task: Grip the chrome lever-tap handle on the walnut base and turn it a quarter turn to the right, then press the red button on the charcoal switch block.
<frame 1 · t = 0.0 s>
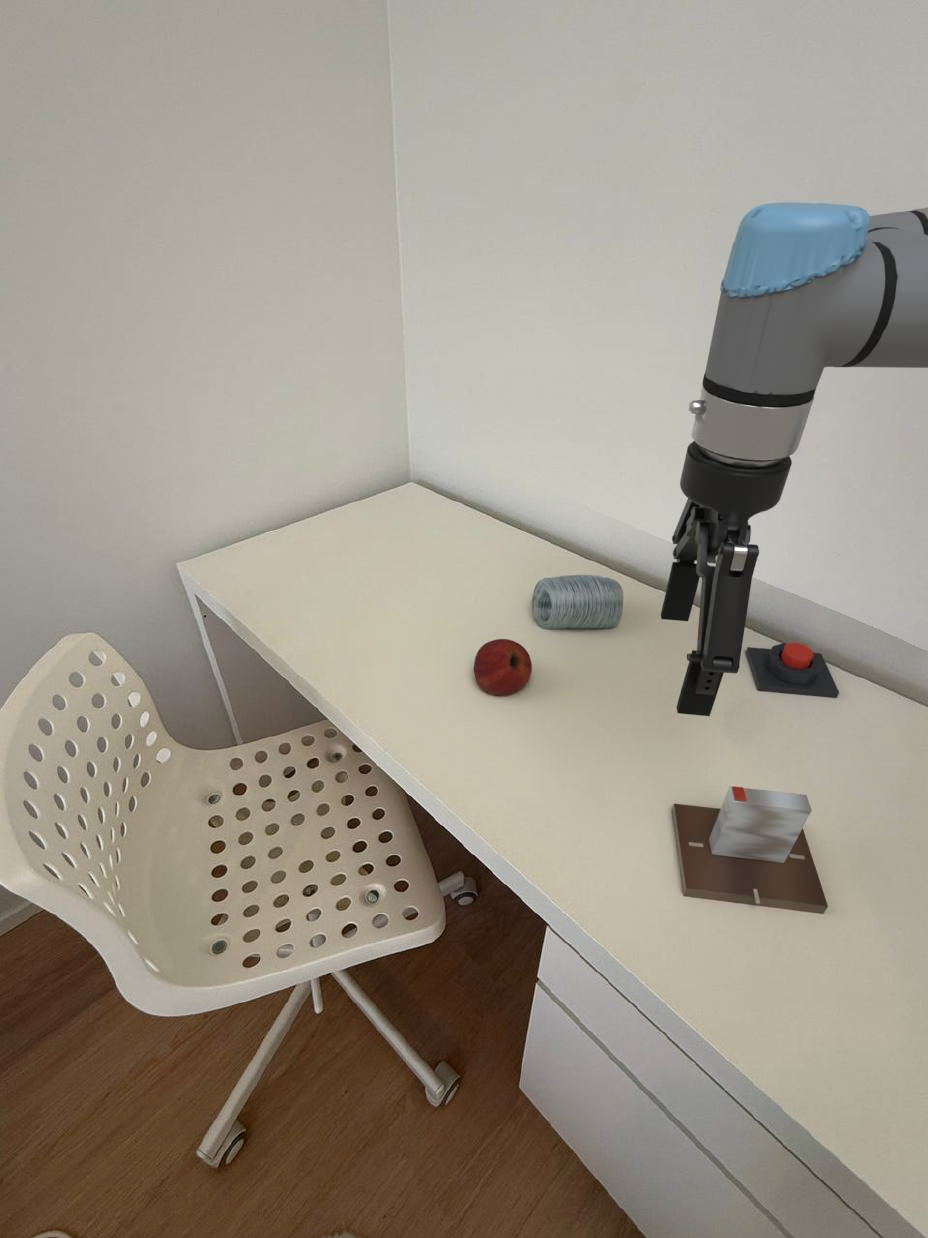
hand: (682, 661, 62), 20 cm above the table, tool pointing down, fingers open, 13 cm apart
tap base: (739, 865, 67), on the table
apple: (500, 689, 88), on the table
switch block: (786, 680, 89), on the table
spool: (574, 624, 100), on the table
button: (796, 655, 86), point 4 cm above the table, slide at 0.1 cm
tap handle: (757, 825, 63), point 7 cm above the table, hinge at 0.0°
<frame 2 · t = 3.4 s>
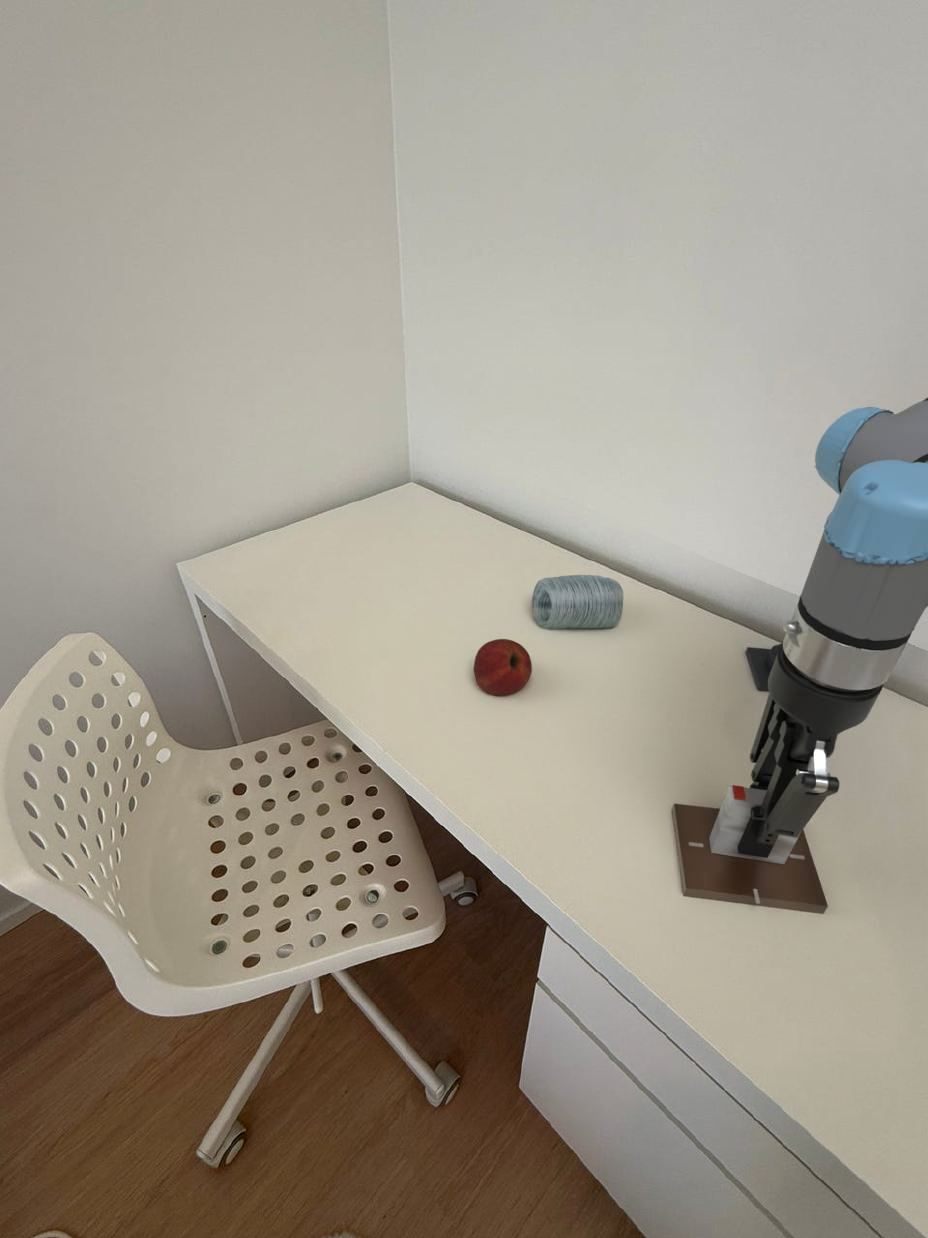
hand: (750, 841, 64), 4 cm above the table, tool pointing down, fingers closed on tap handle, 2 cm apart
tap handle: (757, 825, 63), point 7 cm above the table, hinge at -2.8°, touching gripper
everything else where it was.
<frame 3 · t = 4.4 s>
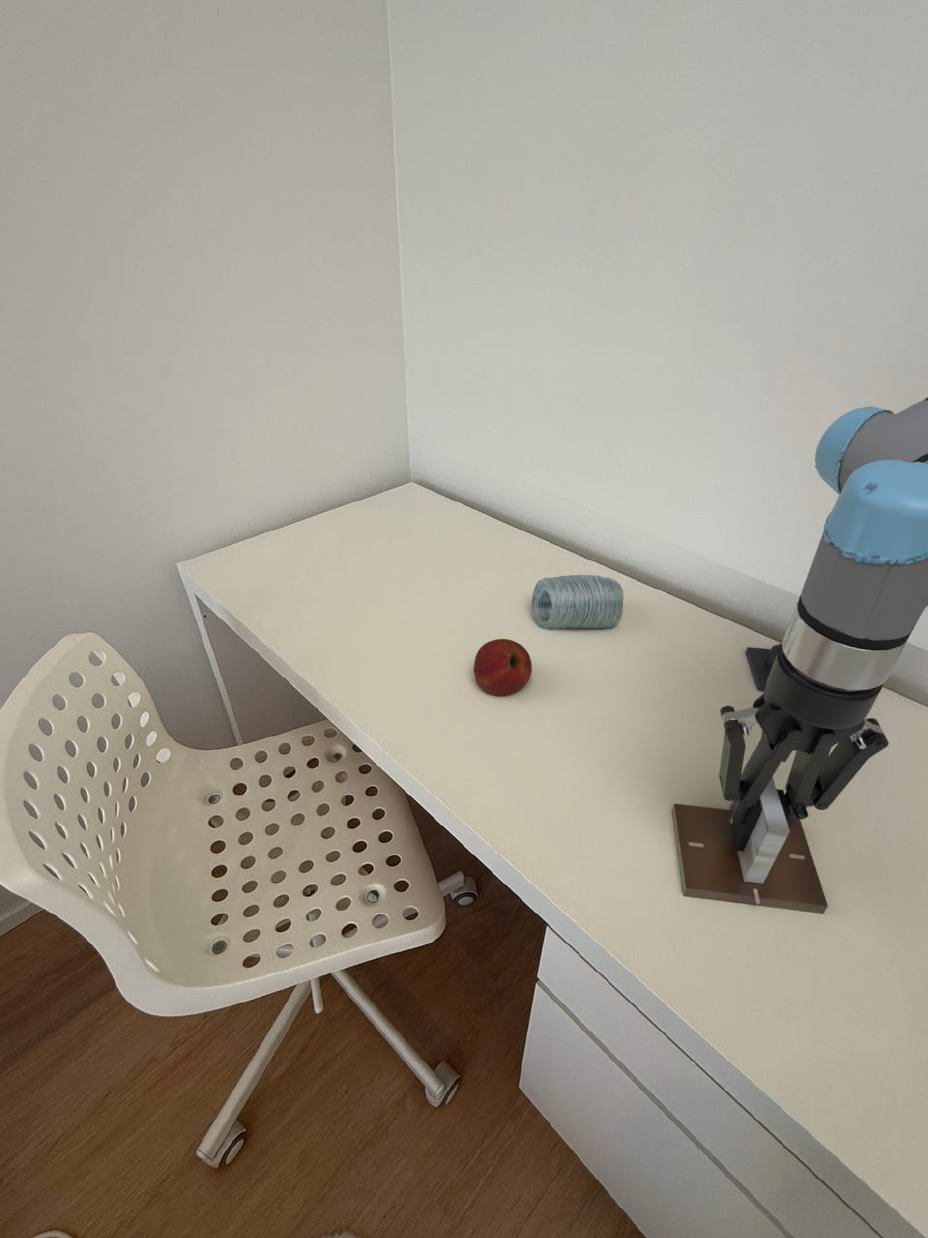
hand: (750, 840, 64), 4 cm above the table, tool pointing down, fingers closed on tap handle, 2 cm apart
tap handle: (757, 825, 63), point 7 cm above the table, hinge at -89.6°, touching gripper
everything else where it was.
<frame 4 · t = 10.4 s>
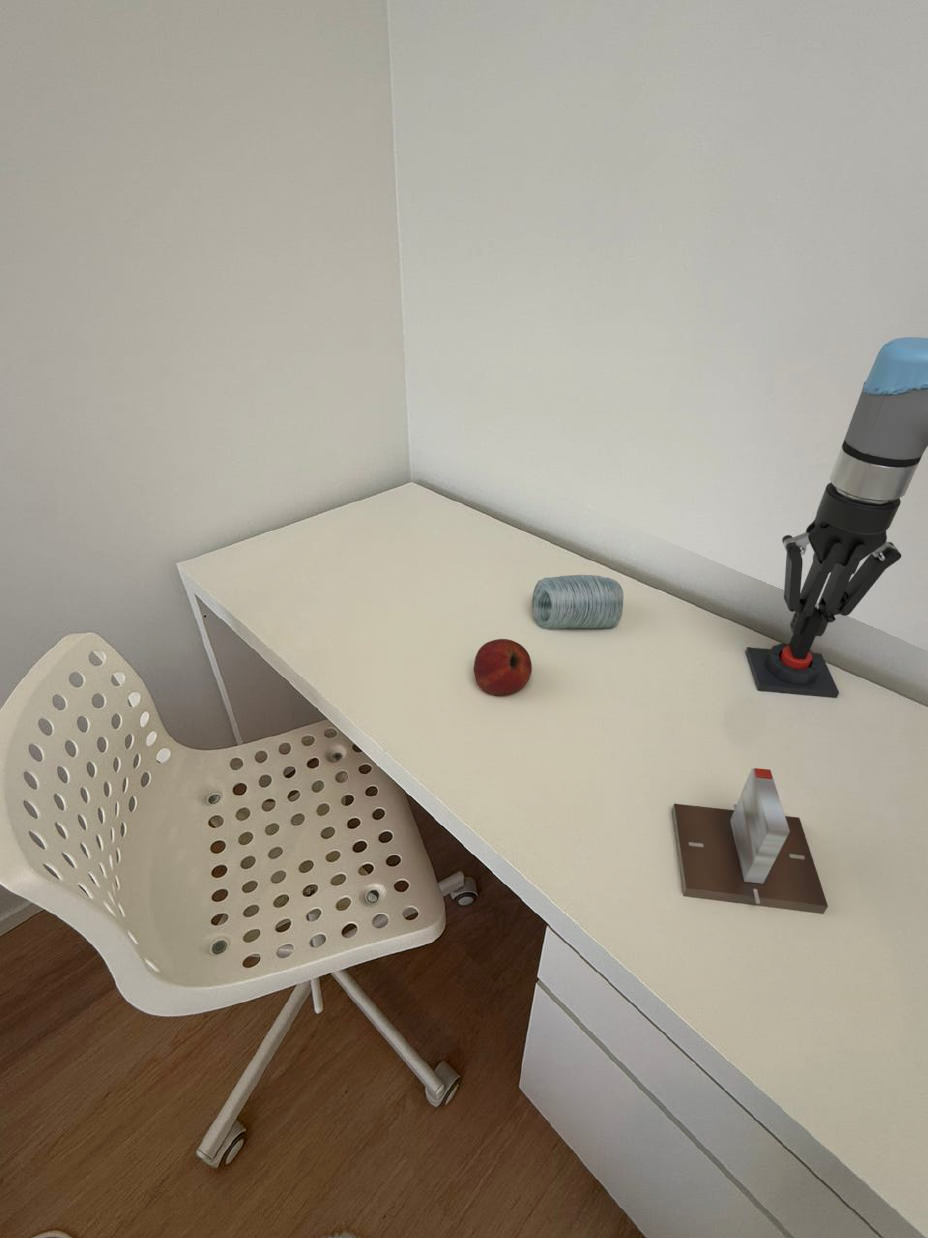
hand: (797, 651, 86), 5 cm above the table, tool pointing down, fingers closed
button: (795, 658, 87), point 4 cm above the table, slide at -0.3 cm, touching gripper
tap handle: (757, 825, 63), point 7 cm above the table, hinge at -89.5°
everything else where it was.
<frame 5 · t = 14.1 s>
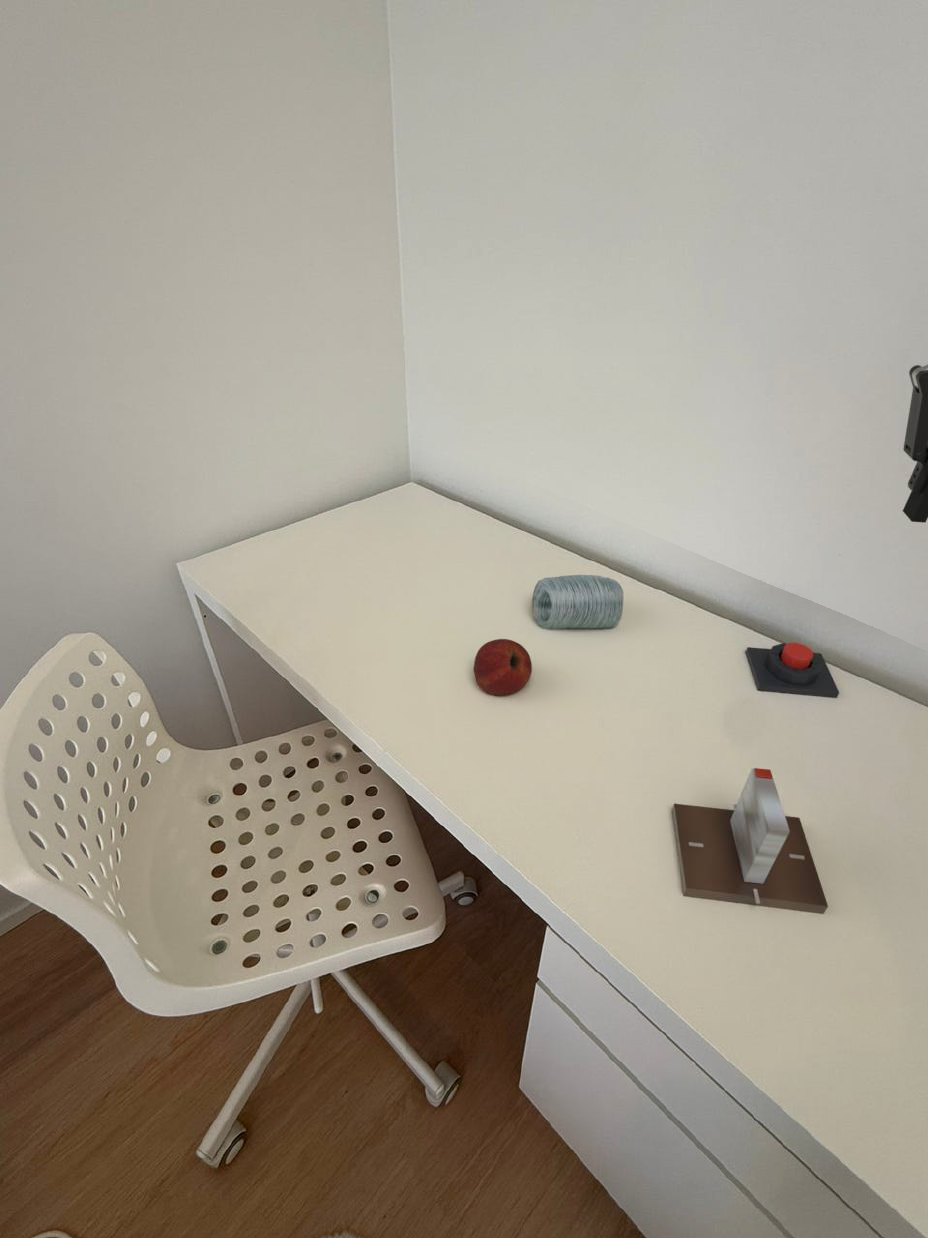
hand: (913, 516, 76), 24 cm above the table, tool pointing down, fingers closed
button: (796, 655, 86), point 4 cm above the table, slide at 0.1 cm
everything else where it was.
at the end: tap handle at -90° (first picture: +0°); button pushed in 1.0 cm at the most during the clip, back to where it started at the end; button slide at 0.1 cm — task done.
